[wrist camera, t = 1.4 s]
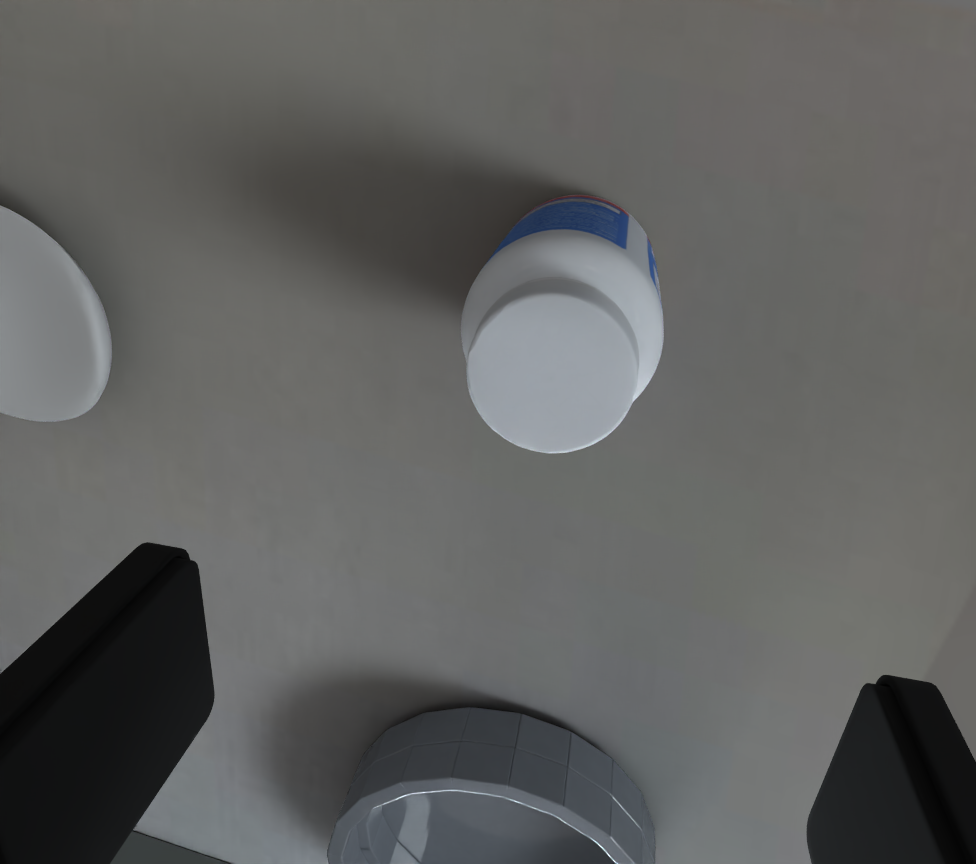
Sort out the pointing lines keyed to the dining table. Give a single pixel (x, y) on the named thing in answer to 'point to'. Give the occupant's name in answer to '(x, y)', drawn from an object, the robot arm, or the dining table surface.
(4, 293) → the spoon
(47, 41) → the dining table surface
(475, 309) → the pill bottle
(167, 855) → the basket
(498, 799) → the pan
